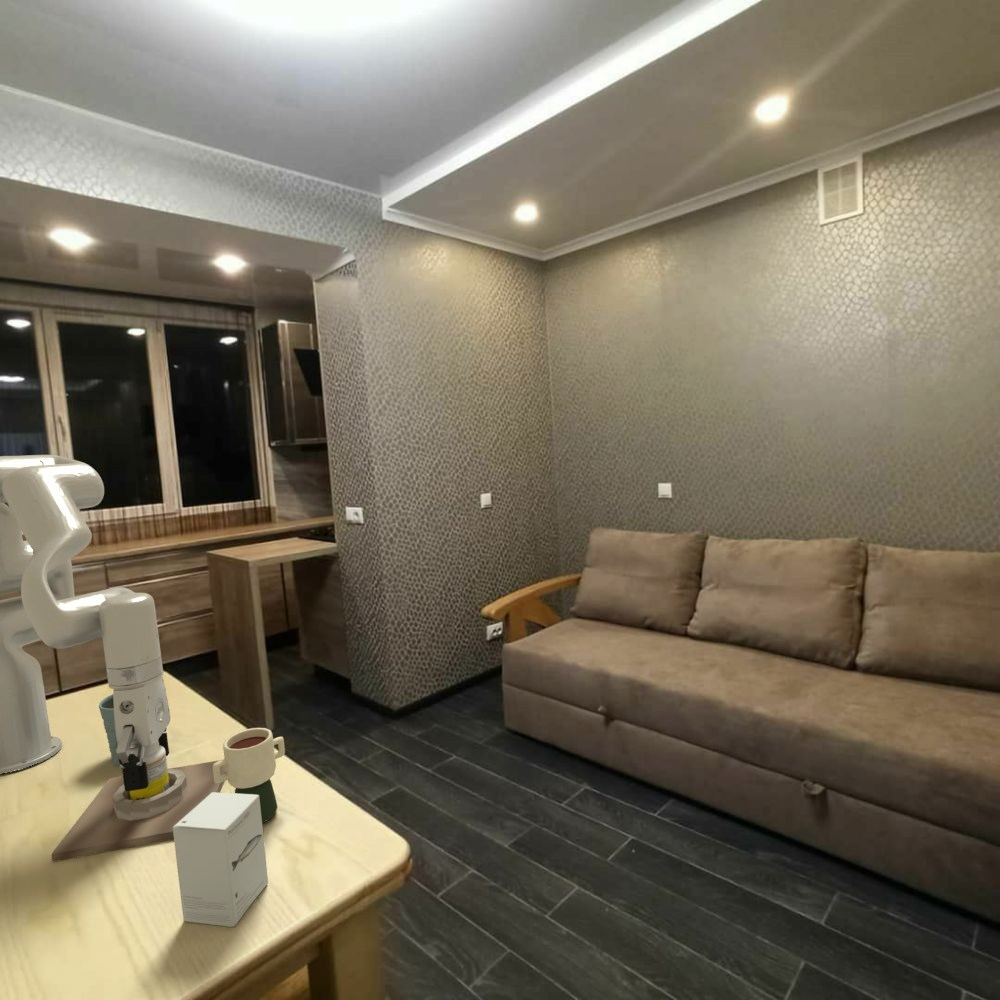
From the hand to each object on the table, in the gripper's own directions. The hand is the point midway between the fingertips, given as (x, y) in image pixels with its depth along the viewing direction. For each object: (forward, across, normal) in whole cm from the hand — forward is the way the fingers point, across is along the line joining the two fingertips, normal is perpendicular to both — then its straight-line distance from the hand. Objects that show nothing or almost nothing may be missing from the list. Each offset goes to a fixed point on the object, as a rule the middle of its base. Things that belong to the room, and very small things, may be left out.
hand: (148, 772), depth 96 cm
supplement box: (+6, -26, -17) cm, 32 cm away
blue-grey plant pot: (+6, +20, +9) cm, 23 cm away
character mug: (+6, -8, -18) cm, 20 cm away
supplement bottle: (+5, 0, 0) cm, 5 cm away
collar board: (+6, 0, 0) cm, 6 cm away
